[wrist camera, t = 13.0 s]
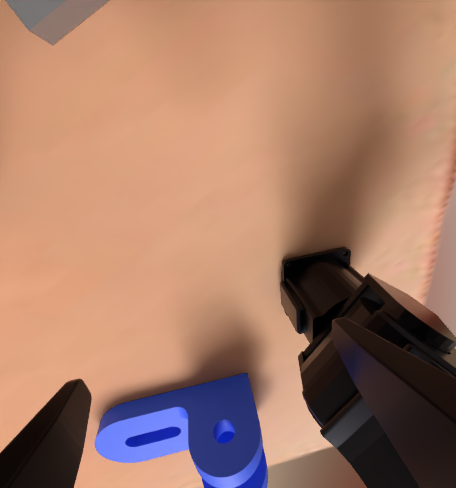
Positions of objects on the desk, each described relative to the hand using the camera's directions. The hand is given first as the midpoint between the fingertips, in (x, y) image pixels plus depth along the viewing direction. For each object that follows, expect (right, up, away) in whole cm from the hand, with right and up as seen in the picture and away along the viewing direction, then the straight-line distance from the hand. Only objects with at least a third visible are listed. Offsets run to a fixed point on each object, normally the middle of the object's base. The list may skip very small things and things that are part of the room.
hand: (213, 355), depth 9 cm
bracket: (-5, -16, +22) cm, 28 cm away
